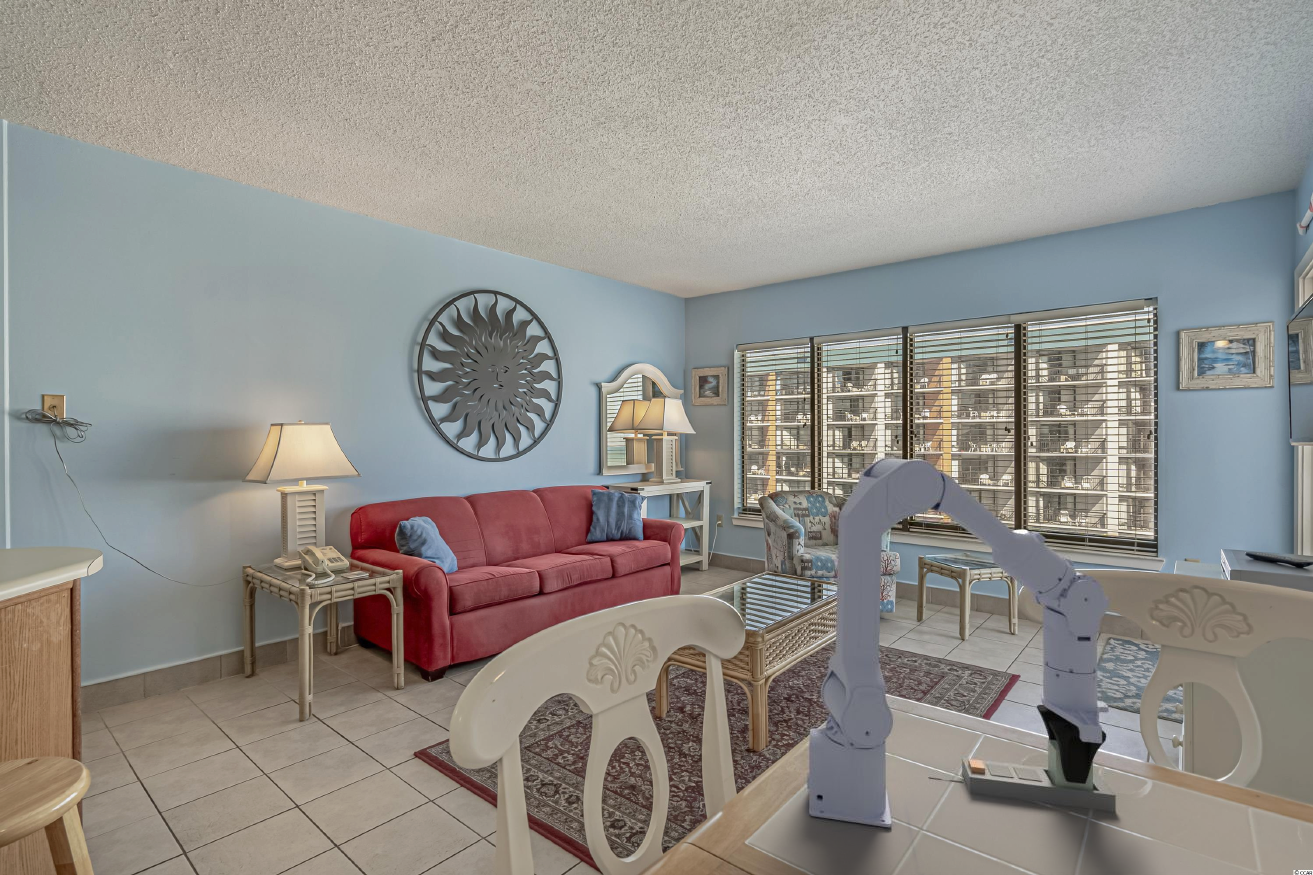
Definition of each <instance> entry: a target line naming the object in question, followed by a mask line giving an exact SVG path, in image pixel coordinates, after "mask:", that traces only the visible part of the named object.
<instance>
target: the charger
mask: <svg viewBox="0 0 1313 875" xmlns="http://www.w3.org/2000/svg"><path fill="white" fill-rule="evenodd" d="M1047 753H1048V754H1047V768H1048V778H1049V780H1050V781H1051V783H1052V785H1054V786H1062V787H1070V788H1078V789H1086V790H1093V773H1094V761H1093V762H1092V765H1091V768H1090V772H1089V775H1088V778H1087V781H1086V784H1080V783H1072V782H1067V781H1066V779H1065V777H1064V774H1063V770H1062V764H1061V757H1060V751H1059V747H1058V743H1057V741H1056V740H1049V739H1048V740H1047Z"/></svg>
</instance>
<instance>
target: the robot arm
mask: <svg viewBox="0 0 1313 875" xmlns="http://www.w3.org/2000/svg"><path fill="white" fill-rule="evenodd" d="M928 510H929V511H930V510H931V511H934V512H939V513H943V515H945V516H946V517H949V519H951V520H952V521H953V522H955V523H957V524H958V525H959V526H960V527H961V528H963V529H965V531H967V532H968V533H970V534H971V535H972V536H975V538H977V539H978V540H979V541H981V542H982V543H983V544H985V545H986V546H988V547H989V548H991V552H992V553H991V554H992V560H993V563H994V564H995V565H996V566H997V567H999V569H1000V570H1001V571H1003V572H1004V573H1006V574H1007V575H1009V577H1011V578H1012V579H1014V580H1015V581H1016V582H1017V583H1019V584H1020V585H1021V586H1022V587H1023V588H1024V589H1026V590H1027V591H1029V592H1030V593H1031V595H1032V598H1033V600H1034V602H1036V604H1038V605H1041V606H1043V607H1042V655H1043V656H1042V693H1041V697H1040V698H1041V700H1040V701H1041V704H1037V705H1036V709H1037V711H1038V713H1039V715H1040V716H1041V719H1042V722H1043V724H1044V726H1045V729H1046V732H1047V736H1048V740H1056V741H1057V743H1058V747H1059V751H1060V757H1061V764H1062V770H1063V774H1064V777H1065V779H1066V781H1067V782H1072V783H1080V784H1086V781H1087V778H1088V775H1089V772H1090V768H1091V765H1092V762H1093V763H1094V758H1095V756H1096V754H1097V752H1098V750H1099V749H1100V748H1101V746H1103V744H1104V743H1105V742H1106V741H1107V733H1106V732H1105V731H1104V729H1103V726H1102V725H1101V724H1100V713H1109V710H1110V709H1109V706H1108V704H1107V703H1105V702H1104V701H1102V700H1098V632H1100V631H1101V630H1100V627H1101V626H1100V625H1101V624H1100V622H1101V620H1102V619H1103V617H1104V616H1105V614H1106V613H1107V611H1108V608H1109V605H1110V598H1109V597H1107V596H1106V594H1105V591H1104V589H1103V586H1102V584H1101V583H1100V582H1099V581H1098V580H1097V579H1096V578H1094V577H1093V576H1090V575H1088V574H1085V573H1081V572H1078V571H1076V568H1075V567H1074V566H1075V562H1074V561H1073V560H1071V559H1070V558H1069V557H1065V556H1063V557H1062V556H1061V555H1059V554H1058V553H1057V552H1056V551H1054V550H1053V549H1052V548H1050V546H1048V545H1047V544H1046V543H1045V541H1046V540H1047V539H1046V537H1044V535H1042V534H1041V533H1040V532H1036V531H1031V532H1030V531H1029V530H1027V529H1016V530H1015V529H1014V530H1012V529H1011V528H1009V527H1008V526H1007V525H1006V524H1005V523H1003V522H1002V521H1001V520H1000V518H999V517H996V515H995V514H993V513H992V512H991V511H990V510H989V509H987V508H986V507H985V506H984V504H982V503H981V502H980V501H978V500H977V499H976V498H975V497H974V496H973V495H972V494H970V493H969V492H968V491H967V490H965V488H964V487H963V486H961V485H960V483H958V482H957V481H956V480H955V479H954V478H953V477H952V476H950V475H949V474H947V473H945V472H943V471H939V469H938V468H937V467H936V466H935V465H933V464H932V463H931V462H929V461H926V460H923V459H919V458H918V459H917V458H916V459H901V458H898V457H891V456H889V457H887V456H886V457H883V458H880V459H878V460H876V461H875V462H874V463H872V464H870V465H869V466H868V467H866V468H865V469H863V470H862V471H861V472H860V475H859V479H858V482H857V484H856V486H855V487H854V489H853V491H852V492H851V493H850V495H849V497H848V498H847V500H846V501H845V503H844V504H843V506H842V508H841V510H840V512H839V515H838V525H837V526H838V527H837V529H838V534H837V538H838V539H837V576H836V577H837V579H836V580H837V581H836V614H835V615H836V622H835V628H836V629H835V653H834V654H833V655H832V656H831V657H830V658H829V660H828V671H827V673H826V676H825V677H824V679H823V682H822V684H821V687H820V688H821V689H820V697H821V701H822V703H823V705H824V706H825V708H826V709H827V711H829V712H828V713H829V714H828V718H827V720H826V722H825V725H824V726H825V727H820V728H810V729H809V740H808V741H809V742H808V744H809V747H808V749H809V750H808V753H809V754H808V758H809V759H808V760H809V761H808V769H809V770H808V773H807V775H806V776H807V777H806V789H808V791H809V793H808V794H809V796H808V797H809V798H808V800H809V802H808V803H809V808H808V813H809V815H810V816H812V817H817V818H824V819H829V820H830V819H831V820H837V821H842V822H851V823H858V824H863V825H868V826H869V825H871V826H875V827H876V826H878V827H884V828H891V827H892V826H893V821H892V816H891V808H890V803H889V802H890V801H889V797H888V796H889V794H888V791H887V787H886V786H887V784H886V783H887V782H886V781H887V779H886V778H887V773H886V772H887V764H886V761H887V760H886V759H887V758H886V756H887V755H886V747H887V746H886V745H887V744H886V742H887V741H886V740H887V739H888V738H889V736H890V734H891V733H892V729H893V727H894V718H893V717H894V716H893V712H892V709H891V708H890V706H889V704H888V701H887V695H886V693H887V692H886V691H887V690H886V688H887V687H886V682H885V679H884V676H883V675H884V674H883V672H882V669H881V666H880V635H881V634H880V633H881V632H880V631H881V630H880V628H881V627H880V626H881V625H880V622H881V590H882V589H881V585H882V581H881V576H882V541H883V540H882V539H883V538H882V537H883V535H884V534H885V533H887V532H888V531H890V529H892V528H893V527H895V525H897V524H898V523H899V522H900V521H902V520H905V519H908V518H910V517H913V516H916V515H919V514H922V513H924V512H926V511H928Z"/></svg>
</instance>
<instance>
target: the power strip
mask: <svg viewBox="0 0 1313 875" xmlns="http://www.w3.org/2000/svg"><path fill="white" fill-rule="evenodd" d="M961 767H962V769H961V773H962V776H963V777H962V778H963V779H964V781H965V784H966V786H967V790H968V791H969V792H968V793H969V794H975V795H981V796H989V797H998V798H1003V799H1004V798H1006V799H1012V800H1020V801H1026V802H1027V801H1028V802H1033V803H1034V802H1035V803H1042V804H1050V805H1059V806H1066V807H1071V808H1079V809H1088V810H1095V811H1103V812H1112V813H1116V811H1117V809H1116V808H1117V806H1116V805H1117V803H1116V802H1117V801H1116V800H1117V799H1116V797H1117V796H1116V794H1115V793H1114V791H1113V790H1112V789H1111V787H1110V786H1109V785H1108V783H1107V782H1106V781H1105V779H1104V778H1103V777H1102V776H1101V775H1100V773H1094V772H1093V790H1086V789H1078V788H1070V787H1062V786H1054V785H1052V783H1051V781H1050V780H1049V778H1048V767H1043V766H1035V765H1027V764H1026V765H1025V764H1017V763H1009V762H1002V761H1001V762H1000V761H992V760H985V759H978V758H977V759H975V758H967V757H966V758H965V757H961ZM928 779H929V780H936V781H945V782H951V783H960V784H964V782H963V781H962V780H954V779H953V780H952V779H946V778H937V777H930V776H929V777H928Z"/></svg>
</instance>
